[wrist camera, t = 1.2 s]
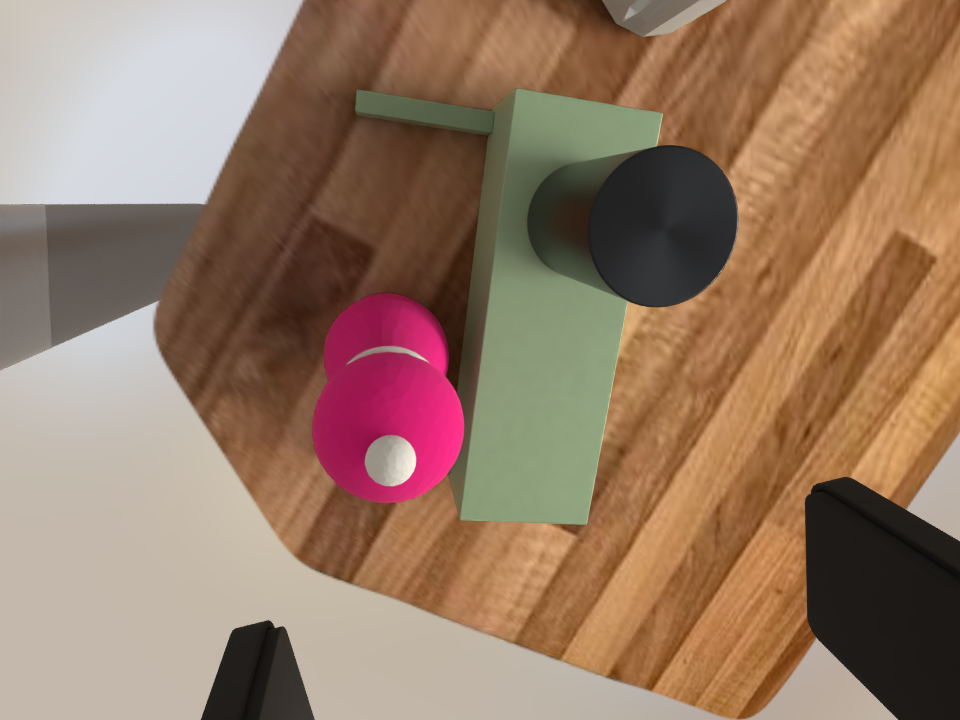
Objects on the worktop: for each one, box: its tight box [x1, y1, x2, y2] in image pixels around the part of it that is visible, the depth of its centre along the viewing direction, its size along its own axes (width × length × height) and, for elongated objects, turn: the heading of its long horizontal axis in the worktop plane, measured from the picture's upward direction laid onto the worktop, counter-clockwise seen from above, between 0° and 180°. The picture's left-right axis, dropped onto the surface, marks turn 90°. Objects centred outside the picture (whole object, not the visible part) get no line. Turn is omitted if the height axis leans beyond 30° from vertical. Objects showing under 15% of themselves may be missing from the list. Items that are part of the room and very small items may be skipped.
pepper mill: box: [312, 293, 464, 503], centre depth 30 cm, size 7×7×20 cm
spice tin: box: [527, 145, 738, 307], centre depth 27 cm, size 6×6×10 cm
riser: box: [355, 88, 663, 525], centre depth 36 cm, size 16×24×7 cm, turn 173°
